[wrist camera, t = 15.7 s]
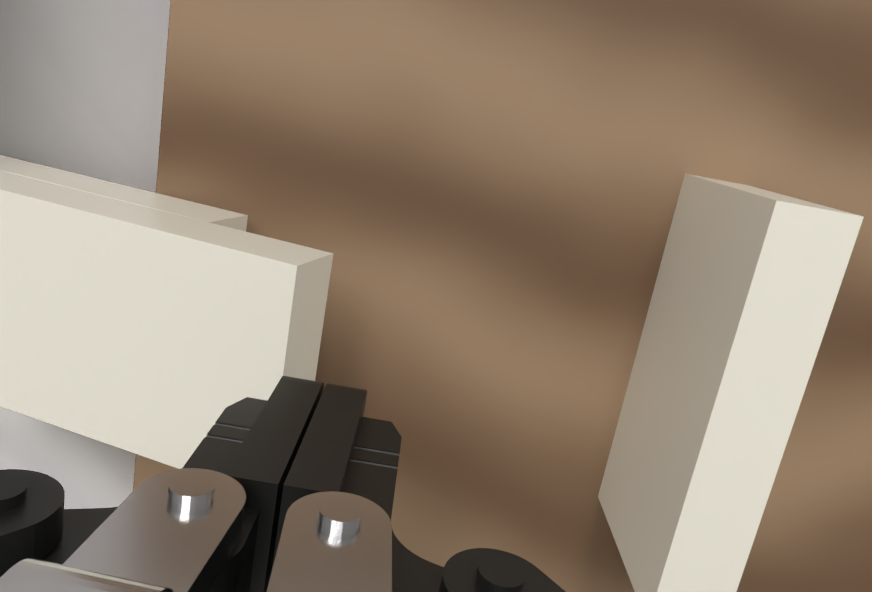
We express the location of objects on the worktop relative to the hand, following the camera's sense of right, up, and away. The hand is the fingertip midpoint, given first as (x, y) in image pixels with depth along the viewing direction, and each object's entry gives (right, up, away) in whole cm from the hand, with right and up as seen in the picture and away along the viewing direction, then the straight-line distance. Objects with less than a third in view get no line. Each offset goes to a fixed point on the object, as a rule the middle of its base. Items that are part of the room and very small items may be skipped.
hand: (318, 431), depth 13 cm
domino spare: (+9, +5, +3) cm, 10 cm away
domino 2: (-1, +1, +2) cm, 2 cm away
